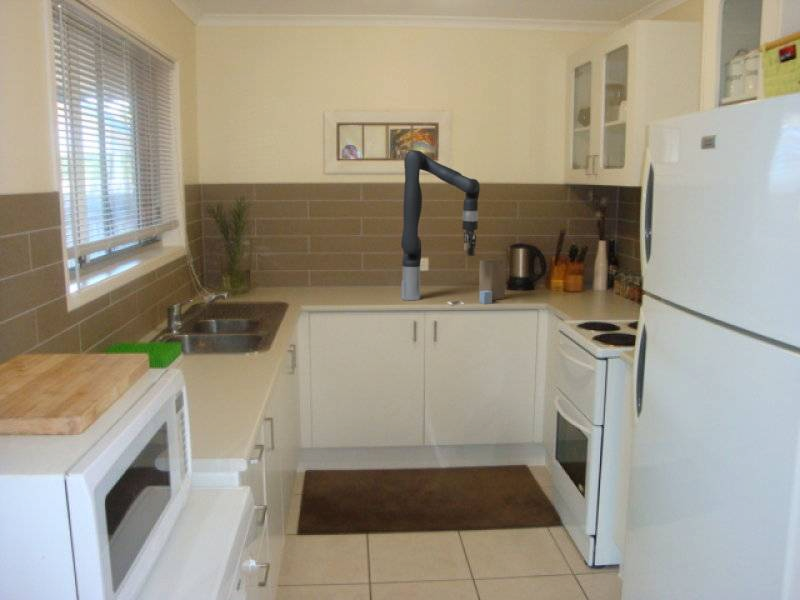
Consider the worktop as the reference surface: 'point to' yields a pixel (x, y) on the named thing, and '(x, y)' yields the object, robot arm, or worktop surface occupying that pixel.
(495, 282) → the wooden block
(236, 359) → the worktop surface
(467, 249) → the walnut block
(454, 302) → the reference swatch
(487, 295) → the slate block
